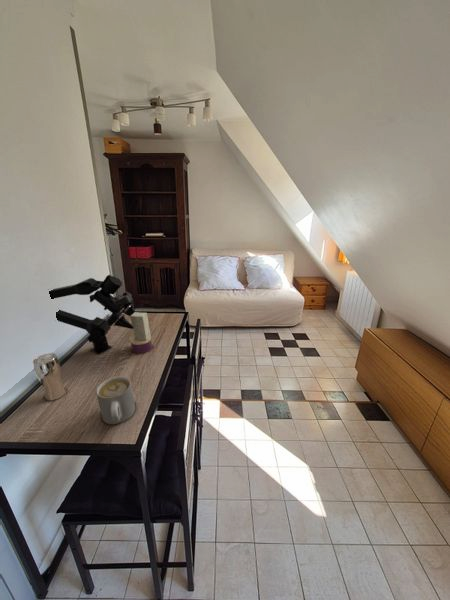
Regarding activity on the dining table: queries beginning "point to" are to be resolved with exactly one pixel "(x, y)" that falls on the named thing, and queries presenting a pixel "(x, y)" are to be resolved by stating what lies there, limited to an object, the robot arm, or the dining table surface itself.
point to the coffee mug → (116, 400)
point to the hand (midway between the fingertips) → (136, 323)
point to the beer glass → (49, 375)
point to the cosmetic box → (140, 326)
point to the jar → (141, 345)
